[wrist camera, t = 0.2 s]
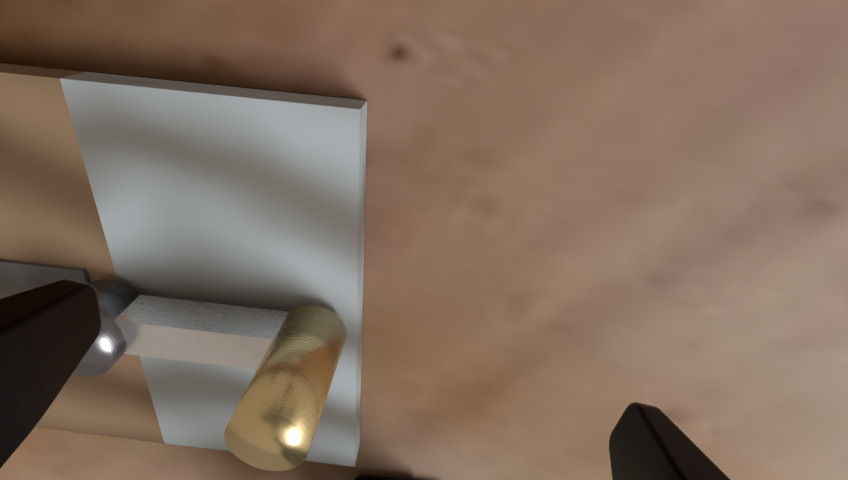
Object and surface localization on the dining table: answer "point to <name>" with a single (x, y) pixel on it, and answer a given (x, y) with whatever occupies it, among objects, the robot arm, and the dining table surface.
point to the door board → (185, 230)
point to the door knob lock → (233, 361)
